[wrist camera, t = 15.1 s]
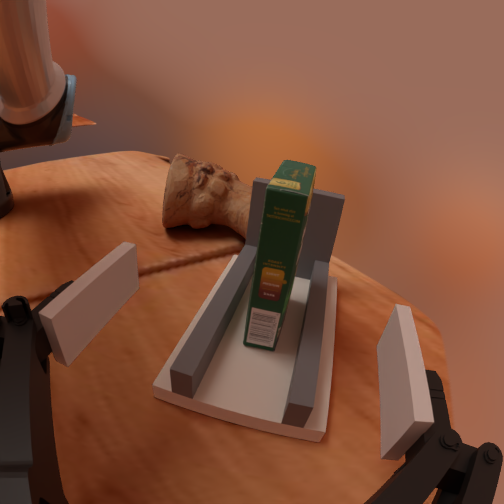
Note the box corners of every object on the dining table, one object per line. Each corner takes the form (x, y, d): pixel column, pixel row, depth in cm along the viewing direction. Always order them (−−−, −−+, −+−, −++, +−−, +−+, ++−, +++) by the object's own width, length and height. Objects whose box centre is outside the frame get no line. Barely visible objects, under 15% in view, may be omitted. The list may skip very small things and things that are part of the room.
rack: (154, 396, 21) (138, 267, 16) (233, 265, 38) (243, 174, 33) (319, 442, 19) (381, 325, 14) (334, 288, 36) (358, 197, 31)
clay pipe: (217, 226, 56) (136, 210, 47) (239, 168, 53) (157, 143, 44) (281, 280, 43) (177, 270, 33) (313, 205, 40) (211, 172, 30)
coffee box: (276, 357, 24) (312, 191, 18) (239, 348, 24) (262, 181, 18) (291, 299, 31) (318, 164, 25) (262, 292, 31) (283, 158, 25)
